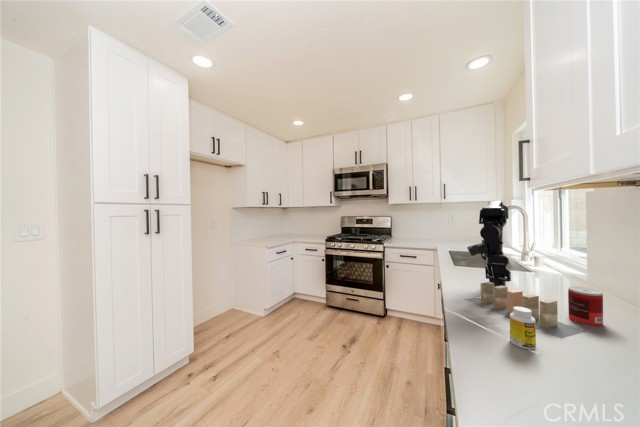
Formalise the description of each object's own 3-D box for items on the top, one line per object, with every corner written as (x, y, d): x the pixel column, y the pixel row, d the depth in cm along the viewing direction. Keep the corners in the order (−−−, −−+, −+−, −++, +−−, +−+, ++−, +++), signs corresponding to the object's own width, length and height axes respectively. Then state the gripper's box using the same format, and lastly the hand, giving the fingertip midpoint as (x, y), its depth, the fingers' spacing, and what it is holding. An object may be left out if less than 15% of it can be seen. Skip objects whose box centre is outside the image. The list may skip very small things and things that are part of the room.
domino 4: (522, 318, 80) (522, 295, 80) (532, 316, 81) (531, 293, 81) (529, 321, 78) (528, 297, 78) (539, 318, 79) (538, 295, 79)
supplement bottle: (525, 351, 62) (525, 314, 62) (505, 340, 67) (504, 306, 67) (541, 348, 63) (540, 312, 63) (519, 338, 69) (519, 304, 69)
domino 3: (507, 312, 85) (506, 291, 85) (516, 310, 86) (516, 289, 86) (513, 314, 83) (512, 292, 83) (522, 312, 84) (522, 291, 84)
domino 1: (480, 302, 94) (480, 283, 94) (489, 300, 96) (489, 281, 96) (485, 304, 92) (485, 284, 92) (494, 302, 94) (494, 283, 94)
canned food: (600, 321, 78) (600, 289, 78) (606, 330, 72) (605, 295, 72) (567, 315, 83) (566, 284, 83) (570, 323, 77) (569, 290, 77)
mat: (484, 296, 101) (484, 295, 101) (585, 332, 71) (585, 331, 71) (463, 300, 98) (463, 299, 98) (560, 339, 67) (560, 338, 67)
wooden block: (539, 325, 75) (539, 300, 75) (549, 322, 76) (549, 298, 76) (547, 328, 73) (547, 303, 73) (557, 325, 75) (557, 301, 74)
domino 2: (493, 307, 89) (492, 286, 89) (502, 305, 91) (502, 285, 91) (498, 309, 87) (498, 288, 87) (507, 307, 89) (507, 287, 89)
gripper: (465, 235, 104) (466, 269, 104) (471, 240, 87) (472, 281, 87) (496, 235, 99) (496, 271, 99) (508, 241, 82) (509, 284, 82)
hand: (493, 276), depth 92 cm, fingers open, 9 cm apart
